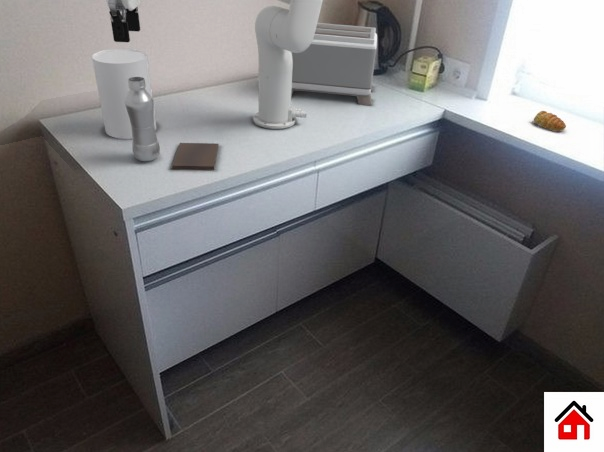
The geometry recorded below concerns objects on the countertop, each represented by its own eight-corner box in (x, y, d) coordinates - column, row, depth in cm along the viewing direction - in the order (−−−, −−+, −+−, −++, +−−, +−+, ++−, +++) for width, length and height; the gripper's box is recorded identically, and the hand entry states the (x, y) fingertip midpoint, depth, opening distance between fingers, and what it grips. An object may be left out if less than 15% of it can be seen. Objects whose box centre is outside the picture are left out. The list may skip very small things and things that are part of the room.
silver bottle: (166, 157, 125) (157, 78, 113) (146, 167, 120) (134, 86, 109) (148, 150, 127) (138, 72, 116) (127, 159, 123) (114, 79, 111)
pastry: (569, 130, 153) (573, 118, 151) (555, 134, 150) (559, 122, 148) (543, 119, 160) (547, 108, 157) (529, 123, 157) (533, 111, 154)
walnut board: (218, 146, 131) (218, 143, 130) (214, 170, 120) (213, 166, 120) (180, 146, 130) (180, 142, 130) (172, 169, 120) (172, 165, 119)
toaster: (279, 77, 181) (280, 18, 170) (372, 86, 178) (380, 27, 167) (268, 95, 165) (269, 31, 154) (371, 105, 162) (379, 41, 151)
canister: (157, 136, 134) (148, 62, 123) (104, 140, 131) (90, 64, 119) (155, 117, 145) (146, 47, 134) (106, 120, 141) (93, 49, 130)
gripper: (124, -48, 92) (136, 47, 101) (144, -56, 106) (153, 28, 116) (82, -50, 91) (98, 45, 101) (108, -58, 106) (120, 26, 115)
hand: (127, 36), depth 108 cm, fingers open, 9 cm apart
